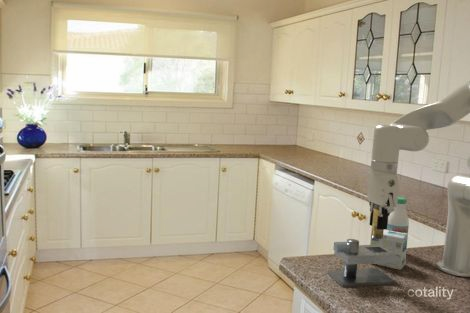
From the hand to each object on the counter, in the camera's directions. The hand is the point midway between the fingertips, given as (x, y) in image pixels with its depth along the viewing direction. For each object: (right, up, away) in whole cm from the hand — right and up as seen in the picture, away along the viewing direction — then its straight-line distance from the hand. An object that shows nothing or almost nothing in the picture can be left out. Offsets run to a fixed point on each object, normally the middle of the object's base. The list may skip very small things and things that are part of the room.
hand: (378, 226), depth 145 cm
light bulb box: (+7, -15, +16) cm, 23 cm away
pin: (0, -3, 0) cm, 3 cm away
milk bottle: (+14, -13, +27) cm, 33 cm away
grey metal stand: (-5, -16, +1) cm, 17 cm away
